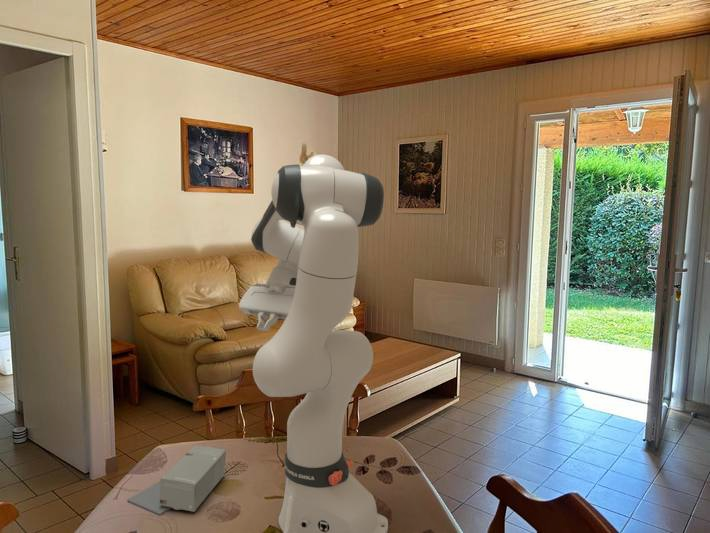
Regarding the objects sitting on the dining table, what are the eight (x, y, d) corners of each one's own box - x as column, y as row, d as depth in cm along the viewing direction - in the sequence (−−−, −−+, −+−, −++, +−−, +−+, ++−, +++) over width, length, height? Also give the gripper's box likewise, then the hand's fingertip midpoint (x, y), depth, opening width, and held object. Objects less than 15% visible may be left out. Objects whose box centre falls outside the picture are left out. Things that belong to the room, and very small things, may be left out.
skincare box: (227, 448, 123) (197, 481, 108) (225, 477, 124) (195, 514, 108) (193, 443, 125) (159, 475, 109) (191, 472, 125) (157, 507, 110)
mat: (212, 482, 121) (212, 480, 121) (159, 515, 108) (159, 513, 108) (181, 470, 126) (180, 468, 126) (127, 501, 113) (127, 499, 113)
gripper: (247, 276, 146) (224, 319, 139) (309, 281, 136) (288, 327, 129) (258, 289, 150) (237, 331, 143) (318, 295, 141) (299, 340, 134)
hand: (262, 329), depth 136 cm, fingers closed
